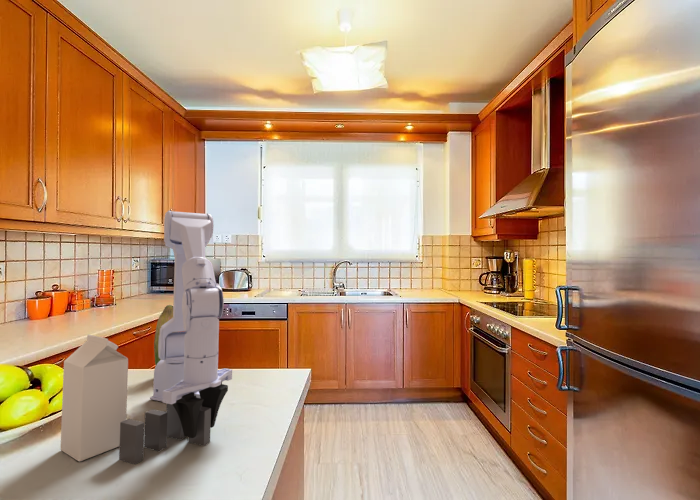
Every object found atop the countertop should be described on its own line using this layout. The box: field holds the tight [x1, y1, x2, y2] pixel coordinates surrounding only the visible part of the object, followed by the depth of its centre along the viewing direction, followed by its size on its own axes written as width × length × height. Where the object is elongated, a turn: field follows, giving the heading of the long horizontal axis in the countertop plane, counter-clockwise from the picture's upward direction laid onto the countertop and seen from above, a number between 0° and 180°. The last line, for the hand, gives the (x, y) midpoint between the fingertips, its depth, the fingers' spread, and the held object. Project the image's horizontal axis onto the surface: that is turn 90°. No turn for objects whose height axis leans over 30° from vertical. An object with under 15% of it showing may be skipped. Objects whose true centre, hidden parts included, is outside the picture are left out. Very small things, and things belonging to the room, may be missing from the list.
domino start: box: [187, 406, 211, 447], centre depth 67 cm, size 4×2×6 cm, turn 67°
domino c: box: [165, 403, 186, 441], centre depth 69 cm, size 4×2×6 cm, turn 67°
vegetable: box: [153, 304, 173, 366], centre depth 104 cm, size 6×6×20 cm
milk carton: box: [60, 334, 129, 462], centre depth 64 cm, size 7×7×19 cm
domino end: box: [118, 418, 145, 465], centre depth 60 cm, size 4×2×6 cm, turn 67°
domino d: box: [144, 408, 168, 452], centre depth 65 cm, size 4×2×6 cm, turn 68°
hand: (199, 431), depth 67 cm, fingers open, 4 cm apart
